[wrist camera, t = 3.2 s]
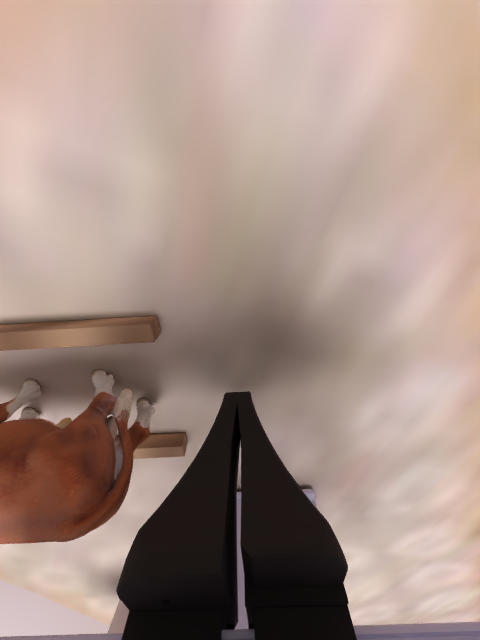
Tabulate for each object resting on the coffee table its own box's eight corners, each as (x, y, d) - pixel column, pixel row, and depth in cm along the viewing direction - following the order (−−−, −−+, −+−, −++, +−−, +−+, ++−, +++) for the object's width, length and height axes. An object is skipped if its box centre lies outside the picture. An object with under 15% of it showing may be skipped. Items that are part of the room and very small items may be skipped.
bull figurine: (-63, 368, 13) (-462, 569, 6) (165, 363, 13) (68, 558, 6) (-24, 421, 15) (-283, 624, 7) (176, 416, 15) (114, 615, 7)
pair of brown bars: (151, 295, 11) (110, 334, 7) (189, 452, 16) (176, 519, 13) (-113, 312, 11) (-277, 356, 8) (7, 461, 17) (-58, 529, 13)
